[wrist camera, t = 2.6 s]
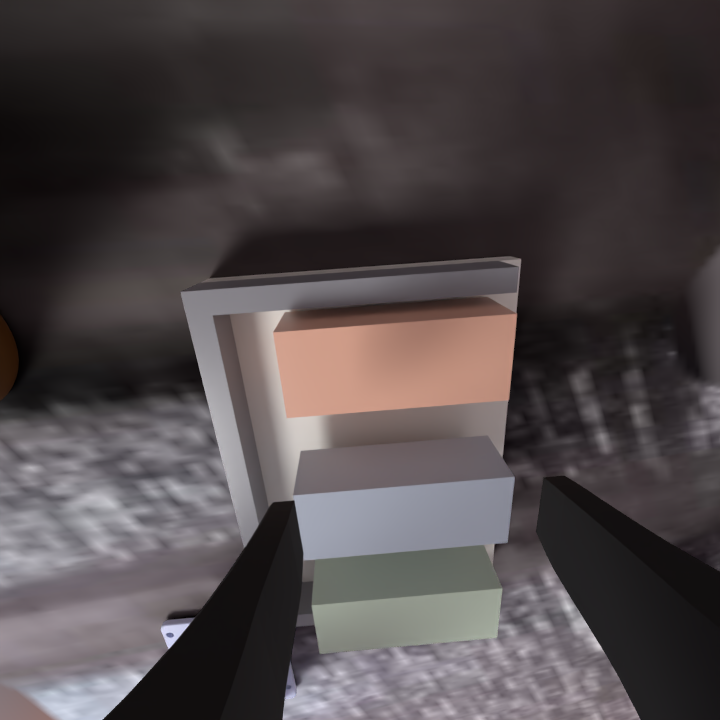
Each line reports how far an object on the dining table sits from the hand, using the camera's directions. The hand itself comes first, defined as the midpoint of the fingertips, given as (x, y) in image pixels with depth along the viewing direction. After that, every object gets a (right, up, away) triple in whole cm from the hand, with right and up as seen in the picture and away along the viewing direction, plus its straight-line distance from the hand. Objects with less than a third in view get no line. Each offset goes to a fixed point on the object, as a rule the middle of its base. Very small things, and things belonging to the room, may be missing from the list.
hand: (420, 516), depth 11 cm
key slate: (0, -1, +8) cm, 8 cm away
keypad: (-1, 0, +10) cm, 10 cm away
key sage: (0, -7, +10) cm, 12 cm away
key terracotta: (0, +5, +6) cm, 8 cm away
